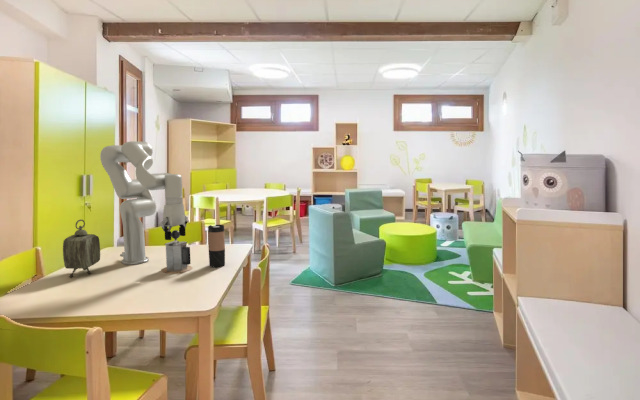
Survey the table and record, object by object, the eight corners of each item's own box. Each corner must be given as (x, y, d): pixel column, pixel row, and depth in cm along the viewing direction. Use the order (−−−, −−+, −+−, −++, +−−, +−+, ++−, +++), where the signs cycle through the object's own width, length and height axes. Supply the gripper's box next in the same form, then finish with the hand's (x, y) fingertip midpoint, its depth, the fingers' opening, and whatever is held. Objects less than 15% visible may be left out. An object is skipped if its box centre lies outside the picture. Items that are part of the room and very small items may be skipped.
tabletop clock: (83, 269, 195) (79, 217, 192) (102, 269, 195) (99, 217, 192) (64, 278, 180) (60, 222, 177) (85, 278, 180) (81, 222, 177)
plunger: (167, 263, 191) (165, 230, 189) (175, 260, 197) (174, 228, 195) (177, 264, 189) (176, 231, 187) (186, 261, 195) (184, 229, 193)
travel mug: (221, 269, 195) (220, 227, 193) (206, 268, 197) (204, 227, 194) (228, 265, 203) (226, 224, 200) (213, 264, 204) (212, 224, 202)
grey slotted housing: (162, 270, 191) (161, 243, 189) (175, 265, 199) (174, 240, 197) (183, 273, 187) (182, 246, 185) (195, 268, 195) (194, 242, 193)
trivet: (154, 272, 189) (154, 271, 189) (175, 265, 202) (175, 263, 202) (179, 276, 184) (179, 274, 184) (198, 267, 197) (198, 266, 197)
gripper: (180, 198, 199) (181, 233, 201) (153, 203, 183) (155, 240, 185) (192, 199, 196) (194, 234, 198) (167, 203, 180) (169, 242, 182)
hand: (175, 237), depth 192 cm, fingers open, 9 cm apart
